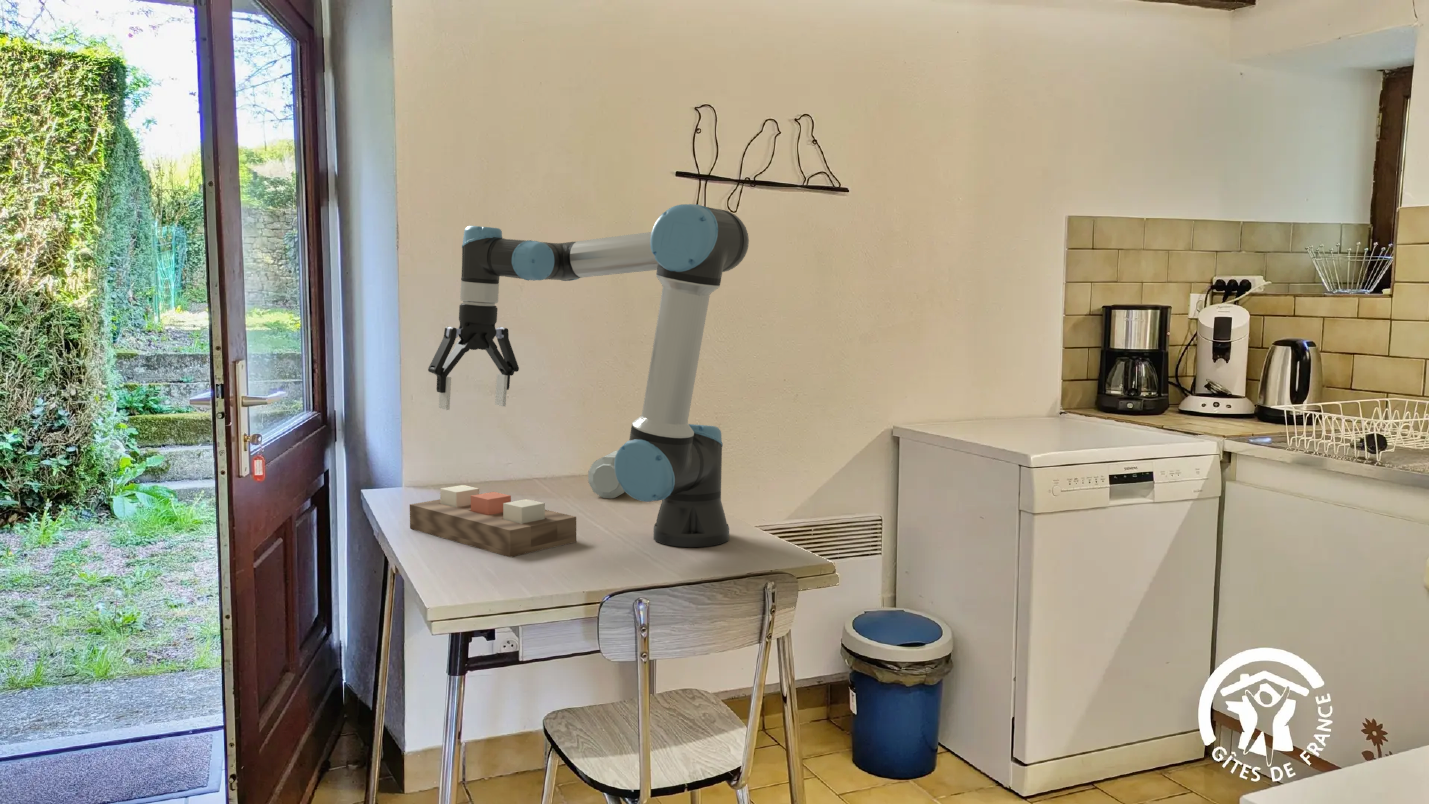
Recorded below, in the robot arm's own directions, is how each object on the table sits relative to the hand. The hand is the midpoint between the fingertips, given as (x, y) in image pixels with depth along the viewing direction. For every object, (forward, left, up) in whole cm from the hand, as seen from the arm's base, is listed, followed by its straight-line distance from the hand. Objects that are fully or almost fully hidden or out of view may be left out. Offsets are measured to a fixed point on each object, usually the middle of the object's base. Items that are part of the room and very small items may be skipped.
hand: (472, 407), depth 204 cm
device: (+8, -51, -25) cm, 58 cm away
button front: (-19, +2, -21) cm, 29 cm away
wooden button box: (-9, +2, -25) cm, 26 cm away
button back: (+2, +2, -21) cm, 22 cm away
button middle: (-9, +2, -21) cm, 23 cm away
